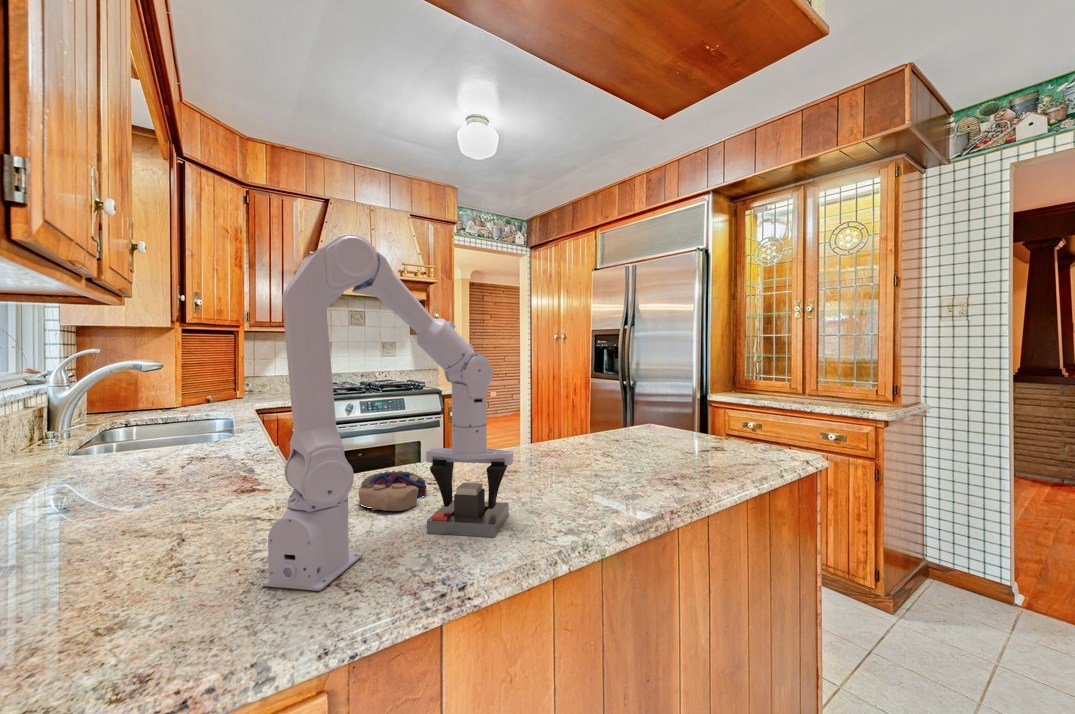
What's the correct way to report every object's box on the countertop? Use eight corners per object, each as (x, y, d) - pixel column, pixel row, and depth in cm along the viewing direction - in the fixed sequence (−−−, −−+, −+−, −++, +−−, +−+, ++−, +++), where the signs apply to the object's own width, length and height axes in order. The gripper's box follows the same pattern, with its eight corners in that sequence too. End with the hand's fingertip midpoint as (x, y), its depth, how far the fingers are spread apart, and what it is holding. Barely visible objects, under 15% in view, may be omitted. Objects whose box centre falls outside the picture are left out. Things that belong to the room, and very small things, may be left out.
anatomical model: (431, 487, 95) (431, 466, 95) (415, 515, 79) (414, 489, 79) (373, 489, 94) (373, 467, 94) (345, 517, 78) (344, 491, 78)
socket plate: (494, 537, 69) (494, 520, 69) (426, 533, 70) (426, 516, 70) (508, 514, 78) (508, 499, 78) (449, 510, 80) (449, 496, 80)
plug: (477, 527, 72) (477, 490, 72) (454, 525, 73) (454, 488, 73) (484, 517, 76) (484, 482, 76) (462, 516, 77) (462, 481, 77)
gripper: (516, 421, 77) (517, 500, 77) (437, 420, 79) (437, 496, 79) (507, 428, 70) (508, 514, 70) (420, 426, 72) (421, 509, 73)
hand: (469, 505), depth 74 cm, fingers open, 7 cm apart
